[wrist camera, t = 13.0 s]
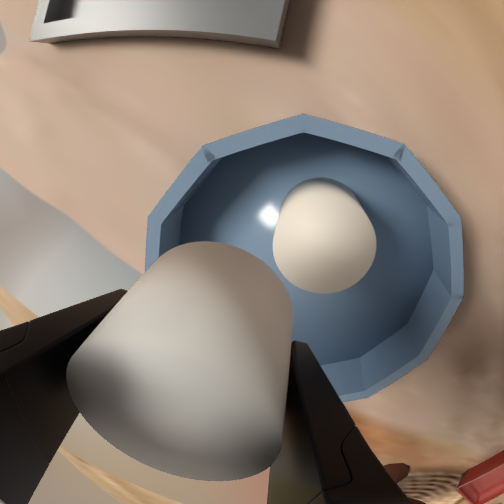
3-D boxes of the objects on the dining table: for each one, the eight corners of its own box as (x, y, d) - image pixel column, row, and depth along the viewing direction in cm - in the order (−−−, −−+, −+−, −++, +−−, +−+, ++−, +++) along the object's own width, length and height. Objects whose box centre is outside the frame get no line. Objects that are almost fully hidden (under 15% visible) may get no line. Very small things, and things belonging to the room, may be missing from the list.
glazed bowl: (476, 173, 16) (508, 189, 13) (377, 383, 24) (382, 420, 20) (191, 93, 17) (163, 90, 14) (164, 333, 25) (144, 366, 21)
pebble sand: (370, 188, 17) (389, 211, 13) (348, 263, 19) (358, 301, 15) (288, 168, 18) (283, 185, 14) (272, 246, 20) (263, 282, 16)
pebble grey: (314, 267, 9) (318, 390, 5) (270, 384, 11) (251, 495, 7) (147, 222, 9) (50, 303, 5) (140, 346, 11) (84, 438, 7)
